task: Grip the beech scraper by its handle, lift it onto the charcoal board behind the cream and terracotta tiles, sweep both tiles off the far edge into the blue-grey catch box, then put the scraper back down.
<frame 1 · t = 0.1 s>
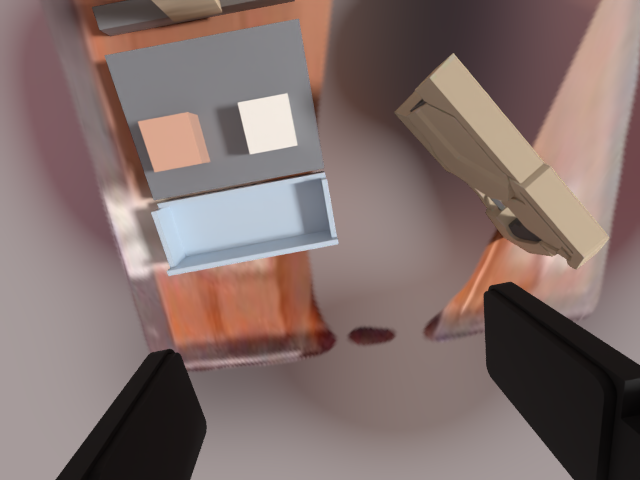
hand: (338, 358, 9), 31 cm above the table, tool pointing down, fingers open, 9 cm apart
scraper: (200, 8, 33), on the table
catch box: (251, 217, 40), on the table
tile cream: (271, 126, 34), point 2 cm above the table, touching board
gun: (459, 169, 39), on the table
tile terracotta: (181, 143, 34), point 2 cm above the table, touching board
board: (226, 117, 36), on the table
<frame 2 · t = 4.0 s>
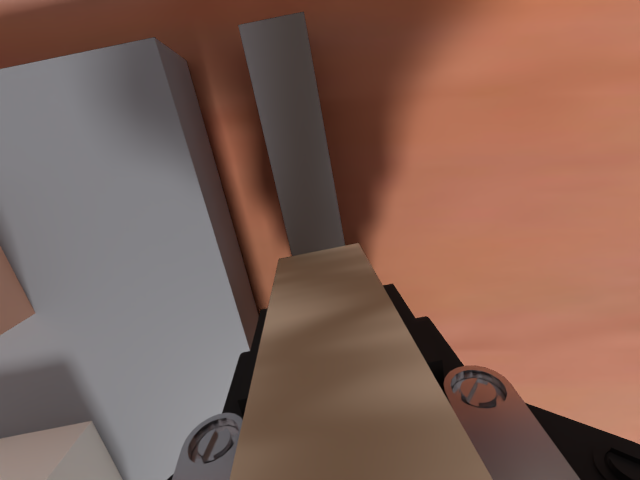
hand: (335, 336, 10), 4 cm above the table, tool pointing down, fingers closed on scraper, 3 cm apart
scraper: (327, 287, 14), on the table, touching gripper
tile cream: (58, 476, 13), point 2 cm above the table, touching board
board: (94, 334, 14), on the table
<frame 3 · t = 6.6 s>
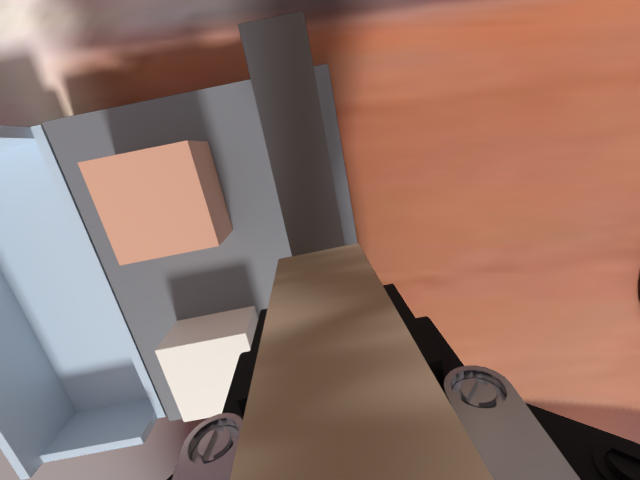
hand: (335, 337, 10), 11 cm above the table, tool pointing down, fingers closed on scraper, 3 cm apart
scraper: (327, 288, 14), point 7 cm above the table, touching gripper
catch box: (73, 290, 21), on the table
tile cream: (226, 346, 20), point 2 cm above the table, touching board
tile terracotta: (177, 196, 17), point 2 cm above the table, touching board
board: (244, 256, 21), on the table
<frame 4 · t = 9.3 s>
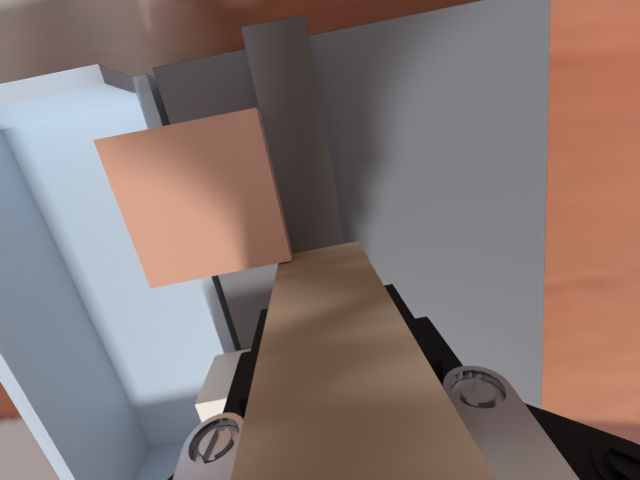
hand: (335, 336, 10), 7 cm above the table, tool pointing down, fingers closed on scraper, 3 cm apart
scraper: (327, 285, 14), point 3 cm above the table, touching gripper, tile terracotta
catch box: (156, 298, 17), on the table
tile cream: (277, 386, 16), point 3 cm above the table
tile terracotta: (222, 191, 13), point 3 cm above the table, touching scraper
board: (373, 254, 17), on the table
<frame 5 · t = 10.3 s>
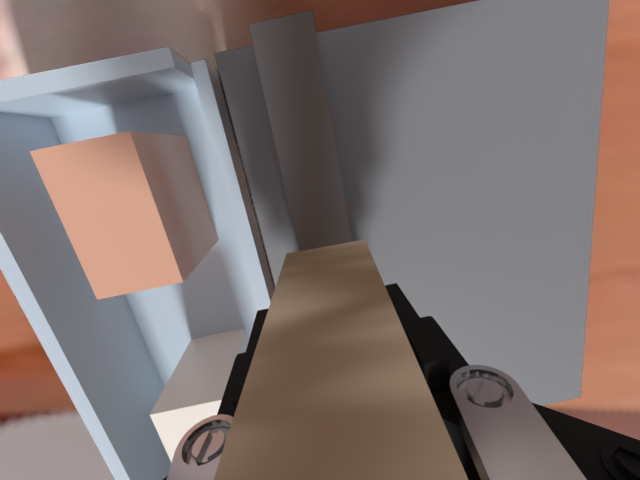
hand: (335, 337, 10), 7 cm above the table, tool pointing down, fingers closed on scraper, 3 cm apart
scraper: (334, 283, 14), point 3 cm above the table, touching board, gripper
catch box: (198, 290, 17), on the table
tile cream: (250, 399, 15), point 3 cm above the table, tilted 90°, touching catch box
tile terracotta: (185, 199, 12), point 3 cm above the table, tilted 90°, touching catch box
board: (416, 245, 17), on the table
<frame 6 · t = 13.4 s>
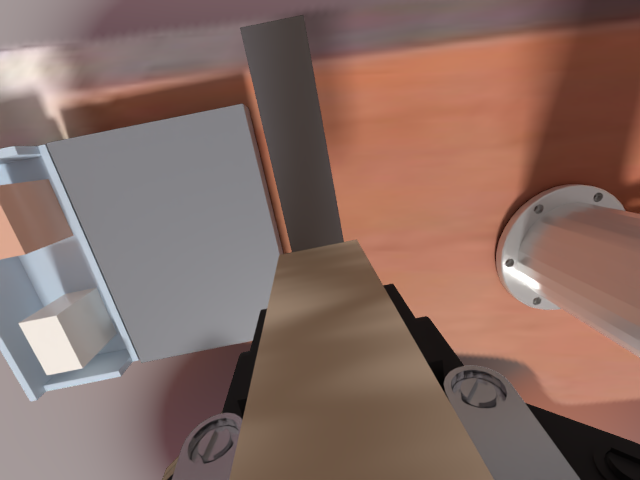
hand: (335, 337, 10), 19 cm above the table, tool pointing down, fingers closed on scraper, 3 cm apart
scraper: (326, 283, 14), point 15 cm above the table, touching gripper
catch box: (68, 264, 29), on the table
tile cream: (90, 325, 27), point 3 cm above the table, tilted 90°, touching catch box
tile terracotta: (37, 214, 24), point 3 cm above the table, tilted 90°, touching catch box
board: (196, 239, 29), on the table
when the fingers open (5 cm above the table, at t = 16.2 s): scraper drops 1 cm, on the table.
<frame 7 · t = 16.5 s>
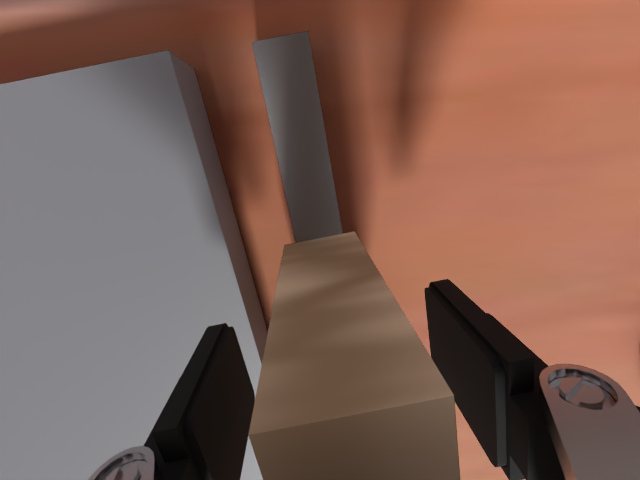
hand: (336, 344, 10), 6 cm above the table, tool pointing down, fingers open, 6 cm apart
scraper: (326, 273, 16), on the table
board: (108, 318, 16), on the table
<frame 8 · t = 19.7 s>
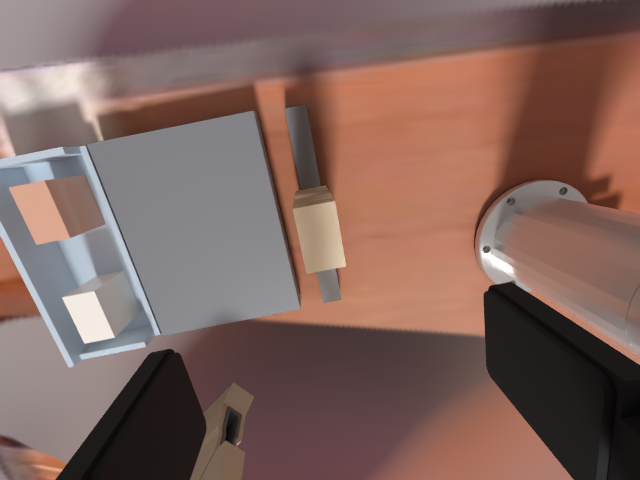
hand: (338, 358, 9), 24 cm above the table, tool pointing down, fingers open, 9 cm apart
scraper: (314, 209, 33), on the table
catch box: (99, 250, 33), on the table
tile cream: (119, 302, 31), point 3 cm above the table, tilted 90°, touching catch box
gun: (189, 438, 41), on the table
tile terracotta: (78, 204, 28), point 3 cm above the table, tilted 90°, touching catch box
board: (211, 228, 33), on the table
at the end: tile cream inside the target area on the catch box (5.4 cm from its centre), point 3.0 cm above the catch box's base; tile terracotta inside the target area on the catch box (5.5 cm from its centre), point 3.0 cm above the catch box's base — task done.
